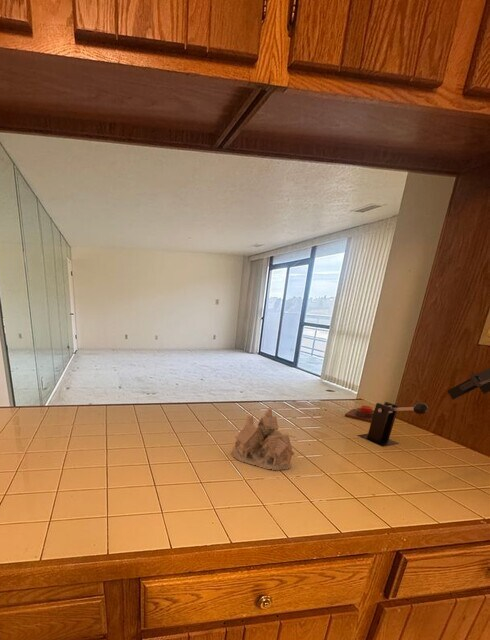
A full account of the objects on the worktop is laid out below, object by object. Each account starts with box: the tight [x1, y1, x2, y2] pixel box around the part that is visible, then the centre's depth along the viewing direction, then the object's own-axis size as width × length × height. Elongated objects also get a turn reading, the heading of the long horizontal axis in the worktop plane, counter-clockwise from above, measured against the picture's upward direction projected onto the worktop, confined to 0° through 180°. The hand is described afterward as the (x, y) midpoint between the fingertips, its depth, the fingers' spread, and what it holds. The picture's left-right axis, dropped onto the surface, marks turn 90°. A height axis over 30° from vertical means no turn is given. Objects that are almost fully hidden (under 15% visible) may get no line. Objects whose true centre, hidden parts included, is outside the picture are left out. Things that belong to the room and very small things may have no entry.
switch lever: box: [389, 402, 429, 415], centre depth 110 cm, size 14×4×4 cm, turn 22°
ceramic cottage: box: [230, 407, 295, 471], centre depth 103 cm, size 16×16×15 cm
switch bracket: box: [357, 401, 400, 448], centre depth 117 cm, size 10×8×14 cm
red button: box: [360, 405, 373, 413], centre depth 139 cm, size 4×4×2 cm
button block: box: [344, 407, 375, 424], centre depth 140 cm, size 12×10×4 cm
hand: (466, 392), depth 94 cm, fingers open, 13 cm apart
